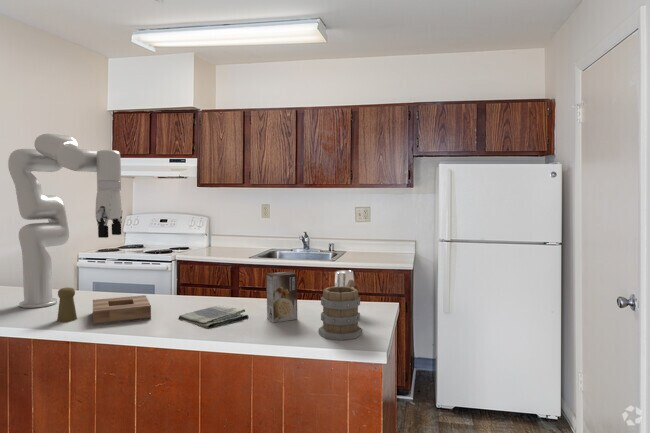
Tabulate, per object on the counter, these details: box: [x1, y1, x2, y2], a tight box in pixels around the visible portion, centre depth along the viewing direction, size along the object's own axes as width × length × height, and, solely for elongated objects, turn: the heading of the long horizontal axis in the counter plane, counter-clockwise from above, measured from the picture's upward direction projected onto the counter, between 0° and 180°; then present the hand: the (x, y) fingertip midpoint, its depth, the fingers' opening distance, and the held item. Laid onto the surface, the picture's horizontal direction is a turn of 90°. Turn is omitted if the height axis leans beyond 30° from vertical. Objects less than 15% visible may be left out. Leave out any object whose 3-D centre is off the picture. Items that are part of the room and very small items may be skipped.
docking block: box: [92, 294, 152, 326], centre depth 168 cm, size 18×18×5 cm
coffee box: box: [266, 271, 298, 323], centre depth 165 cm, size 9×6×16 cm
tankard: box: [318, 280, 363, 341], centre depth 152 cm, size 20×13×15 cm, turn 157°
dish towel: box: [178, 305, 249, 329], centre depth 166 cm, size 19×18×3 cm
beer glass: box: [334, 269, 355, 288], centre depth 175 cm, size 7×7×15 cm
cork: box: [56, 286, 78, 323], centre depth 163 cm, size 6×6×11 cm
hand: (110, 236), depth 164 cm, fingers open, 9 cm apart
